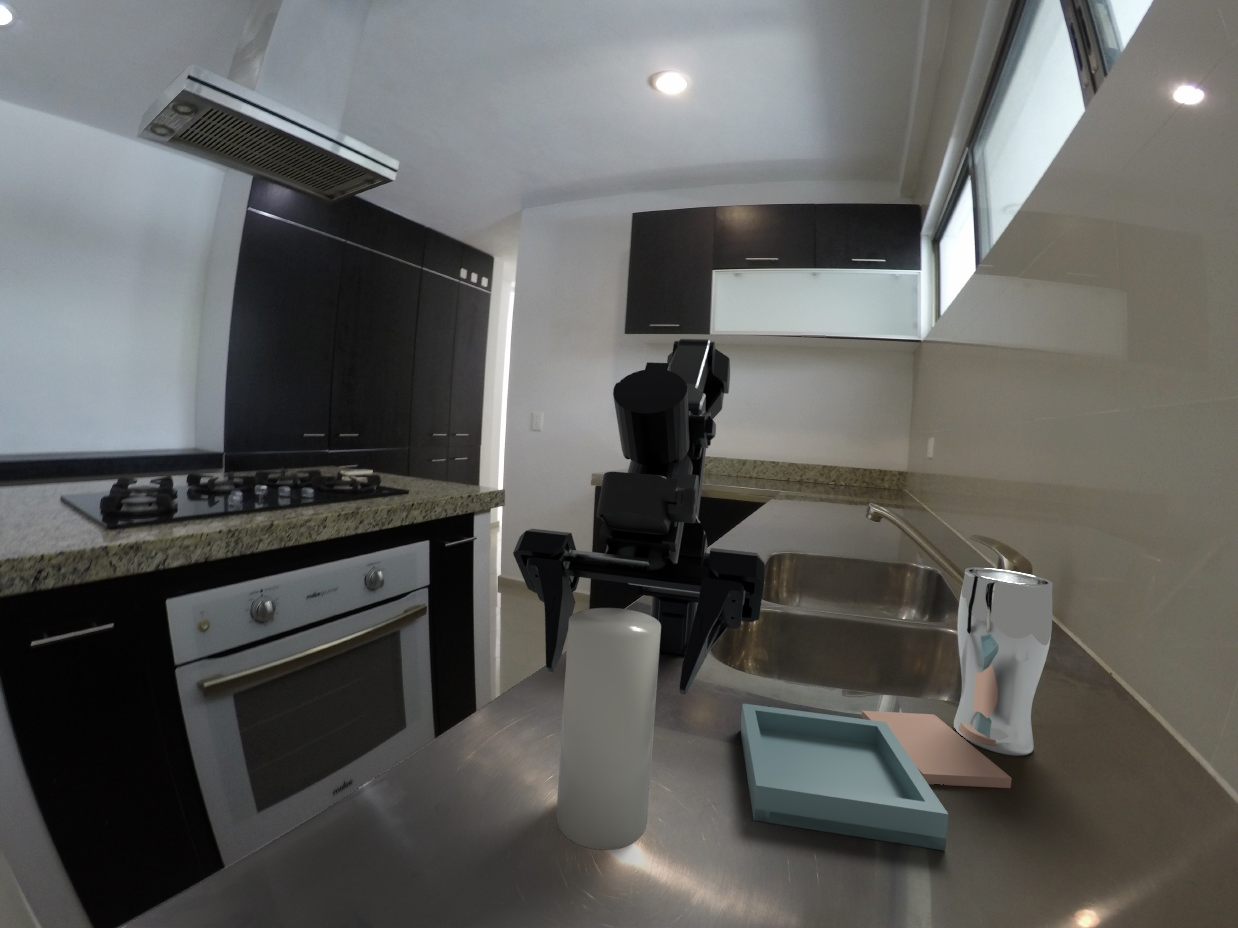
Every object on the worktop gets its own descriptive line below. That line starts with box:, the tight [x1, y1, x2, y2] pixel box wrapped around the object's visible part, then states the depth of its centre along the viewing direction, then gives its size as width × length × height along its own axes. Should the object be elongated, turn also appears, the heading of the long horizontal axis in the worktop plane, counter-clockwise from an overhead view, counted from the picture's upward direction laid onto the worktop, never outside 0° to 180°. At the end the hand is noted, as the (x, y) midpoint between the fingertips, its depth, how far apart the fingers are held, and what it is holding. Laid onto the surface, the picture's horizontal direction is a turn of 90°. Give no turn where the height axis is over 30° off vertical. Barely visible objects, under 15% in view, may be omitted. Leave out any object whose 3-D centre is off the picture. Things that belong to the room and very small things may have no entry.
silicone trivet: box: [861, 710, 1012, 789], centre depth 48 cm, size 10×7×1 cm
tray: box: [739, 703, 949, 852], centre depth 42 cm, size 12×12×2 cm
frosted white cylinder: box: [555, 607, 661, 851], centre depth 36 cm, size 6×6×13 cm
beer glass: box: [953, 566, 1054, 757], centre depth 50 cm, size 7×7×15 cm
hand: (614, 680), depth 37 cm, fingers open, 9 cm apart
